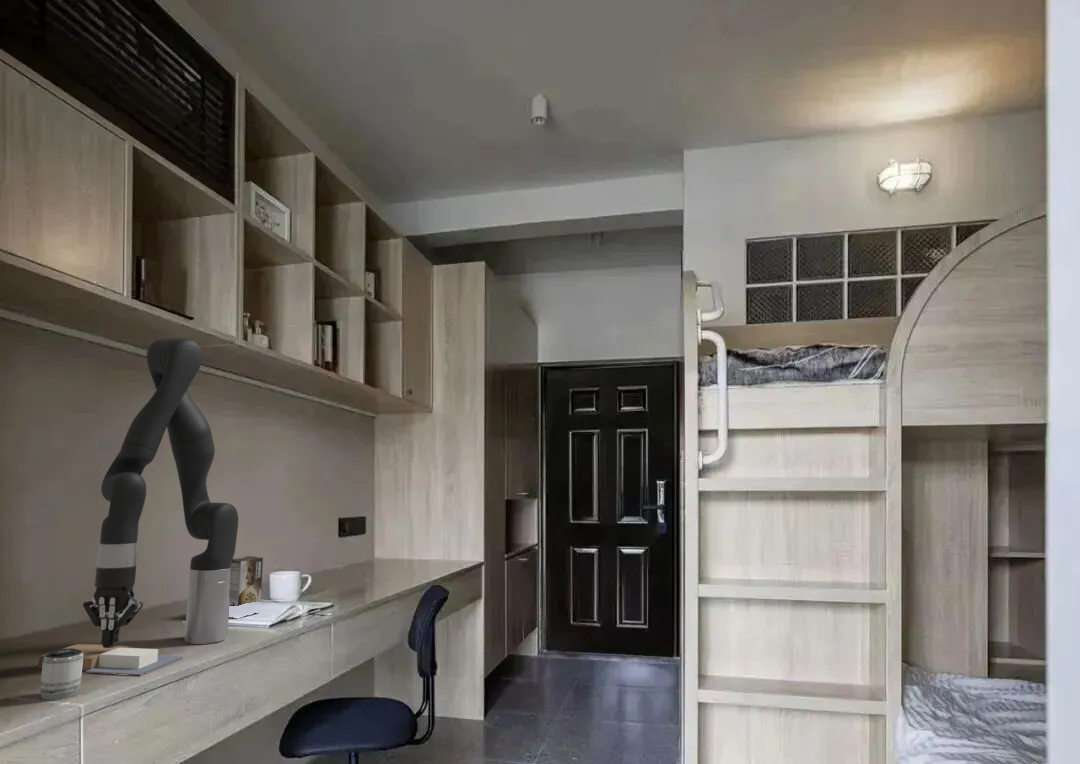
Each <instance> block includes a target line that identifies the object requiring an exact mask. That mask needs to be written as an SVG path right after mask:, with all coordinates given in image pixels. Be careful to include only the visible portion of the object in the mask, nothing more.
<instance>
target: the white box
mask: <svg viewBox="0 0 1080 764" xmlns="http://www.w3.org/2000/svg"><path fill="white" fill-rule="evenodd" d="M158 655H159V648H158V649H157V648H139V647H138V648H137V647H129V648H117V649H114V650H111V651H108V652H105V653H102V654H100V655H99V666H98V667H111V668H131V669H139V668H142V667H144V666H147V665H149V664H152V663H154V662H157V658H158Z"/></svg>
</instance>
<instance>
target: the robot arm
mask: <svg viewBox="0 0 1080 764" xmlns="http://www.w3.org/2000/svg"><path fill="white" fill-rule="evenodd" d="M202 363H203V351H202V348H201V347H200V345H199V343H197V342H196V341H194V340H192V339H189V338H175V337H174V338H157V339H156V340H154V341H153V342H152V343H150V345H149V346H148V348H147V352H146V364H147V367H148V371H149V374H150V376H151V379H152V381H153V384H154V387H155V389H156V391H154V393H153V395H152V396H151V398H149V400H148V401H147V402H146V404H145V405H144V406H143V407H142V408H141V409H140V410H139V412H138V413H137V414H136V416H135V417H134V418H133V420H132V421H131V424H130V426H128V427H129V428H128V429H127V433H126V435H125V437H124V440H123V442H122V445H121V447H120V450H119V452H118V453H117V455H116V456H115V458H114V460H113V461H112V463H111V464H110V466H109V468H108V469H107V471H106V473H105V475H104V477H103V479H102V482H101V488H100V489H101V490H100V491H101V494H102V497H103V499H105V500H106V501H107V502H109V503H110V504H109V509H108V514H107V516H106V517H105V518H104V519H103V521H102V523H101V530H100V539H99V540H100V541H99V546H98V551H97V557H96V568H95V577H94V578H95V579H94V587H95V588H96V589H95V591H94V593H93V597H92V598H91V599H90V600H88V601H84V602H83V604H82V607H83V608H84V610H85V612H86V614H87V616H88V617H89V620H91V623H92V624H93V626H94V627H99V628H100V629H101V630H102V635H101V645H103V648H112V647H115V646H116V645H118V642H119V636H120V630H121V628H122V627H124V626H128V625H129V624H130V622H131V621H132V620H133V619H135V617H136V616H137V614H138V613H139V611H141V609H142V608H143V606H144V602H142V601H137V600H136V599H135V593H134V590H133V588H134V586H135V584H136V575H137V574H136V572H137V561H138V536H139V522H140V518H141V515H142V512H143V510H144V505H145V501H146V497H147V484H146V481H145V479H144V478H143V476H142V474H143V472H144V471H145V470H144V469H145V468H146V466H148V465H149V464H151V463H152V461H153V460H154V459H155V458H156V455H157V452H158V450H159V447H160V445H161V442H162V439H163V437H164V434H165V432H166V429H167V434H168V439H169V443H170V448H171V451H172V452H171V453H172V455H173V458H174V462H175V466H176V470H177V477H178V482H179V485H180V491H181V498H182V507H183V508H182V509H183V517H184V521H185V526H186V527H185V528H186V529H187V532H188V534H189V535H190V536H191V537H192V539H196V540H201V541H202V540H203V541H206V540H207V546H206V549H205V550H204V551H203V552H202V553H198V554H196V555H194V556H192V557H191V560H190V567H189V578H188V581H189V582H188V592H187V593H188V595H187V605H186V618H185V630H184V642H185V643H186V644H190V645H191V644H192V645H206V644H207V645H208V644H213V643H219V642H222V641H224V640H226V639H227V637H228V632H229V631H228V630H229V629H228V628H229V619H230V618H229V604H230V598H229V587H230V571H231V562H232V559H233V558H234V557H235V553H236V545H237V538H238V537H237V536H238V531H239V513H238V511H237V508H236V507H235V506H234V505H233V504H231V503H228V502H211V500H210V498H209V493H208V488H207V478H208V476H209V475H208V474H209V471H210V469H211V467H212V465H213V461H214V457H215V452H216V450H215V449H216V448H215V443H214V439H213V434H212V430H211V425H210V424H209V422H208V420H207V418H206V416H205V415H204V413H203V412H202V411H201V409H200V408H199V406H198V405H197V404H196V402H195V401H194V399H193V397H192V396H191V393H190V391H189V387H190V386H191V385H192V383H193V381H194V379H195V377H196V375H197V374H198V373H199V370H200V368H201V366H202Z"/></svg>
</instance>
